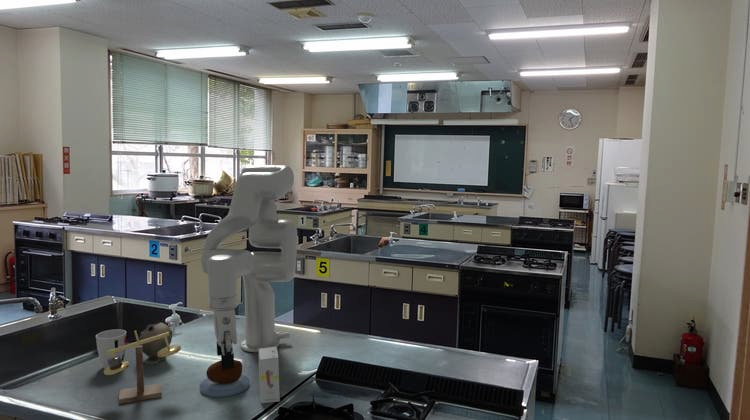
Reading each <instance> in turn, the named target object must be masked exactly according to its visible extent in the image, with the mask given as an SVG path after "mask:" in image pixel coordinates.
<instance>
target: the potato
mask: <svg viewBox="0 0 750 420" xmlns="http://www.w3.org/2000/svg"><path fill="white" fill-rule="evenodd" d="M205 372H206V378H208V379H209V380H210V381H212V382H215V383H222V384H226V383H232V382H235V381H237V380H238V379H239V378H240V377H241V374H242V375H243V363H242V361H241V360H238V359H237V360H236V359H234V368H231V369H225V370H222V365H221V359H220V360H219V361H218V360H217V361H215V362H214V363H212V364H210V365H209V366H208V368H207V370H206V371H205Z"/></svg>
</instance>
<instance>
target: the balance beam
mask: <svg viewBox="0 0 750 420" xmlns="http://www.w3.org/2000/svg"><path fill="white" fill-rule="evenodd" d="M137 332H138V331H137V330H134V335H135V339H136V341H135V342H131V343H128V344H126V345H125V346H121V347H118V348H115V349H112V350H109V351H107V354H108V355H109V354H111V355H112V358H110V359H108V360H107V361H108V364H109V367H107V368H106V369H103V373H104V375H105V376H110V375H111V376H112V375H115V374H118V373H121V372H123V371H125V370H126V369H128V368H129V367H130V362H129V361H124V360H123V362H122V361H121V358H120V356H114V353H116V352H119V351H122V350H125V351H126V350H129V349H131V348H134V347H135V348H136V346H138V345H141V344H144V343H147V342H150V341H154V340H157V339H160V338H163V337H165V341H166V345H167V347H165V348H163V349H161V350H160V351H159V352H158V353H157V355H158V357H165V358H167V357H171V356H173V355H176V354H177V353H178V352H180V351H181V350H182V346H181V345H180V344H170V346H169V344H168V340H167V337H166V336H169V332H166V333H163V334H160V335H157V336H153V337H150V338H147V339H144V340H141V341H139V336H138V335H139V334H138V333H137Z"/></svg>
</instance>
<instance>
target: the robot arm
mask: <svg viewBox="0 0 750 420" xmlns="http://www.w3.org/2000/svg"><path fill="white" fill-rule="evenodd" d="M294 181H295V174H294V171H293V169H292V167H291V166H288V165H283V164H281V165H278V164H275V165H274V164H269V165H268V164H252V165H251V164H250V165H247V166H245V167H243V168H242V169H241V171H240V174H239V175H238V177H237V179H236V181H235V184H234V189H233V192H232V193H233V194H232V197H231V202H230V206H229V211H228V213H227V215H226V216H225V217H223V219H221V220H220V221H219V222H217V223H216V224H215V226H214V227H213V228H211V230H210V231H209V233H208V235H206V236H207V237H206V239H205V241H204V245H203V249H202V253H201V257H200V258H201V259H200V265H201V270H202V271H203V272H204V273H205V274H206V275H207V276H206V277H207V295H208V297H207V298H208V299H207V301H208V309H209V310H211V311H212V310H213V326H214V335H215V339H216V354H217V356H220V357H221V358H220V360H221V365H222V370H225V369H231V368H234V360H235V353H234V347H233V344H234V345H237V344H238V335H237V333H238V332H237V320H236V318H237V317H236V310H235V309H236V308H237V307H238V304H239V303H238V302H239V301H238V279H239V278H241V277H242V280H243V286H244V287H243V288H244V318H245V323H244V325H245V326H244V327H245V339H244V340H242V341H241V342H240V348H241V350H243V351H245V352H248V353H249V352H250V353H259V349H261V348H269V347H277V348H279V346H280V343H281V342H280V341H281V339H289V338H290V333H289V331H287V332H284V330H282V331H276V328H275V327H276V325H275V324H276V322H275V321H276V320H275V319H276V317H275V314H276V312H275V310H276V309H275V292H274V290H273V287H272V286H271V284H270V283H269V282H278V283H279V282H280V283H281V282H282V283H283V282H285V283H286V282H290V281H291V280H293V278H294V277H295V274H296V270H297V269H296V267H297V253H298V252H297V251H298V249H297V248H298V229H297V225H296V223H295V222H294V221H292V220H290V219H279V218H278V219H277V209H278V208H277V203H276V201H277V200H280V199H282V198H283V197H284V196H285V195H286V194H288V193H289V191H290V190H291V189H292V188H293V185H294ZM275 200H276V201H275ZM247 229H248V242H249V244H250V245H251V246H252V247H255V248H262V249H264V248H265V249H280V250H281V251H279V252H277V251H276V252H275V251H249V250H248V249H247V250H246V249H244V248H242V249H239V248H238V249H237V248H235V249H234V248H220V246H221V244H222V243H223V242H224V241H225V240H226V239H227V238H229V237H230V236H232V235H234V234H237V233H239V232H240V233H241V232H242V231H244V230H247Z"/></svg>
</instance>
